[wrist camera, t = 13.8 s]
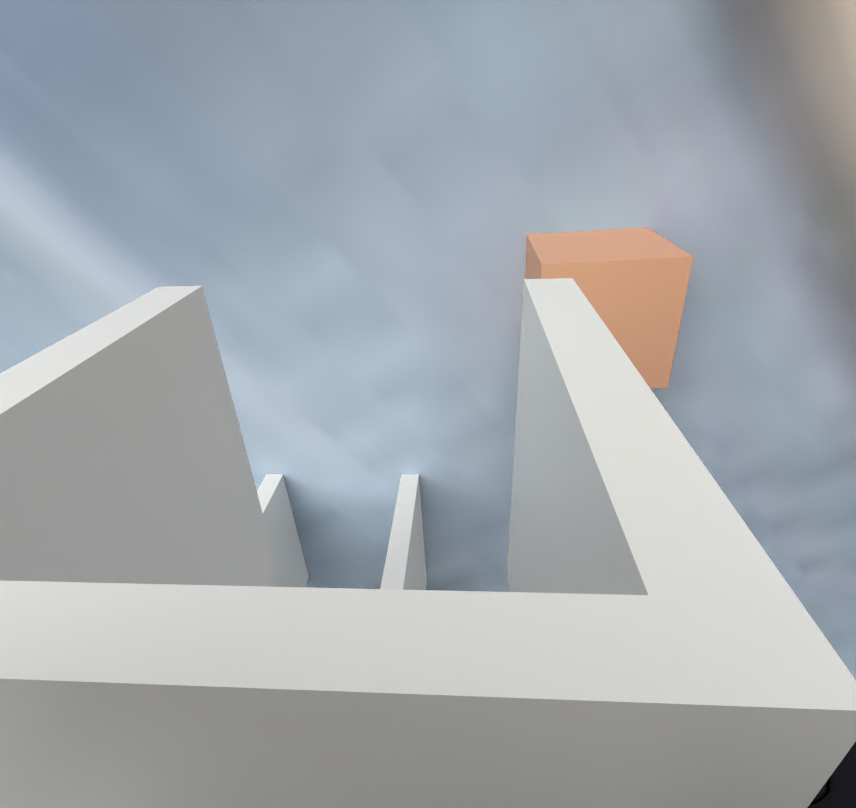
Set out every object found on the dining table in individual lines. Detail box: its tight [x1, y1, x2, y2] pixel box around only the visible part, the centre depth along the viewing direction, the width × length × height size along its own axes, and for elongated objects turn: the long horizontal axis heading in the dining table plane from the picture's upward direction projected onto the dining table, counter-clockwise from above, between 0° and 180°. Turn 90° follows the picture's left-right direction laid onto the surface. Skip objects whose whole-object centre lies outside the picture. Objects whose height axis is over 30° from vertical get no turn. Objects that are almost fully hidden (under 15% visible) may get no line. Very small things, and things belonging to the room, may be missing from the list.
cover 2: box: [0, 278, 856, 808], centre depth 7 cm, size 7×7×7 cm
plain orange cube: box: [526, 227, 693, 388], centre depth 16 cm, size 4×4×4 cm
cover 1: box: [257, 474, 427, 590], centre depth 22 cm, size 7×7×7 cm
